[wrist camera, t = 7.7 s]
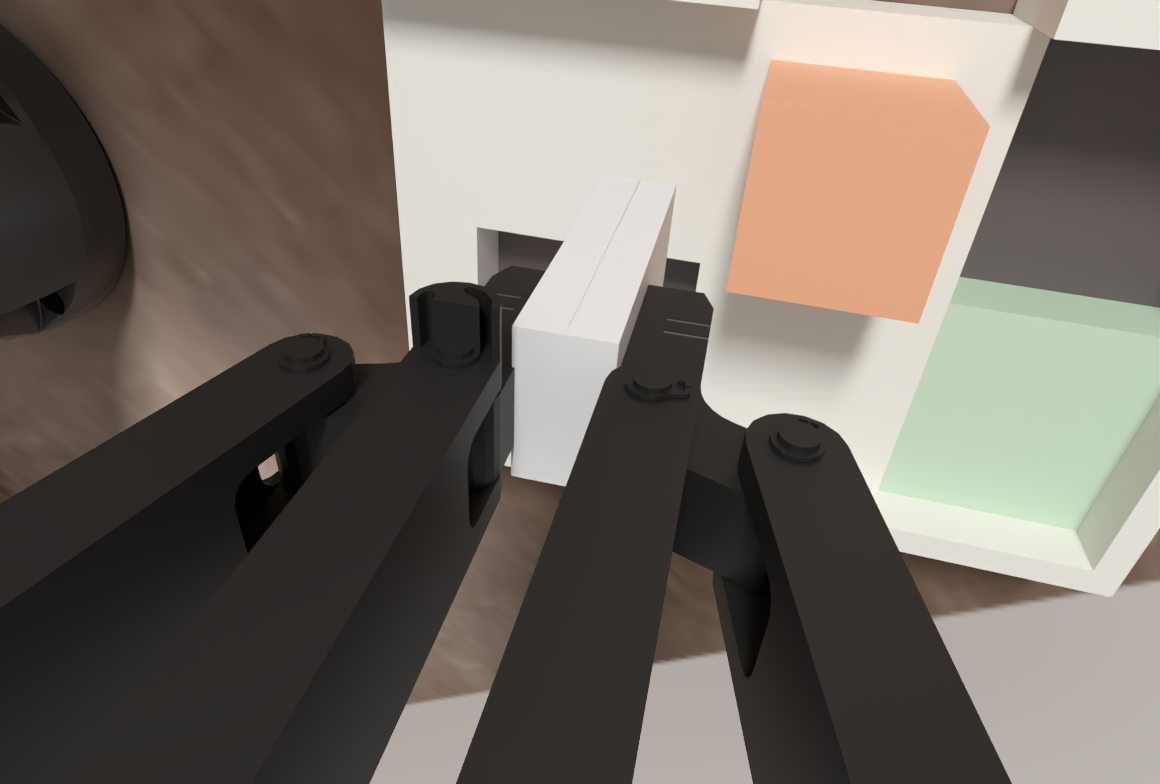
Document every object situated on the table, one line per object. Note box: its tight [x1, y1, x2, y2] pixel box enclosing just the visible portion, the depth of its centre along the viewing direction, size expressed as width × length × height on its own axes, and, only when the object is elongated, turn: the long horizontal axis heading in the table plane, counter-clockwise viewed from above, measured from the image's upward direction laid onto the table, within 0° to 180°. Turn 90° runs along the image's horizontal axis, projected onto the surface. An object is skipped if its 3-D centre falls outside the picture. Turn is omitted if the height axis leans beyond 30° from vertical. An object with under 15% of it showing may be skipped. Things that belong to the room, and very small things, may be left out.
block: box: [725, 59, 990, 324], centre depth 20 cm, size 5×5×5 cm
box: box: [382, 0, 1160, 597], centre depth 25 cm, size 27×18×4 cm, turn 87°
